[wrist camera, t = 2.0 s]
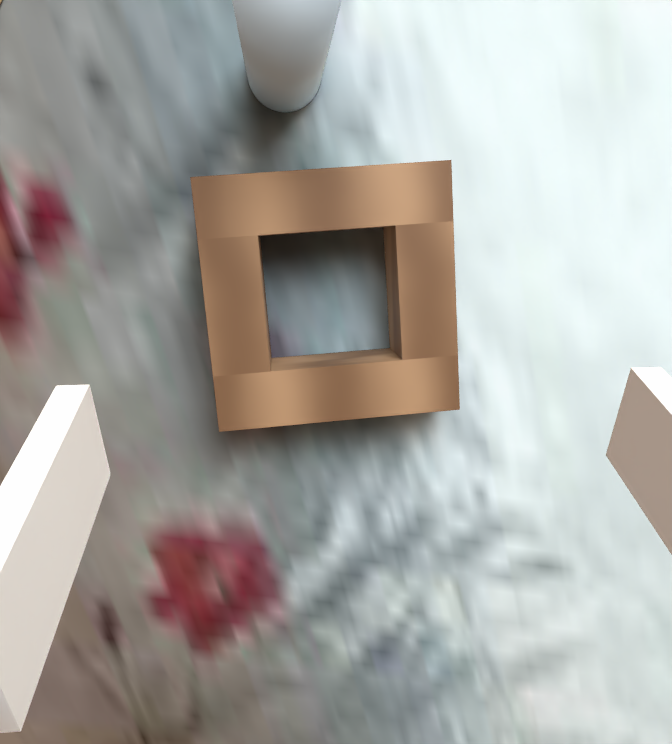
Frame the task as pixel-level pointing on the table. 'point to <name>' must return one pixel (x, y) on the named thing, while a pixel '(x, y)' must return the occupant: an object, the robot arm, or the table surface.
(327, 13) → the peg
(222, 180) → the socket
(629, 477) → the robot arm
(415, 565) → the table surface
